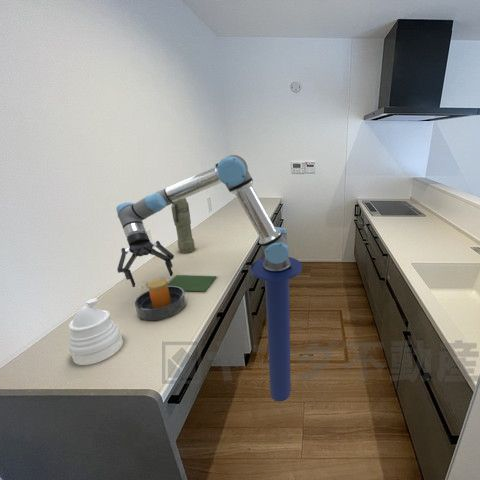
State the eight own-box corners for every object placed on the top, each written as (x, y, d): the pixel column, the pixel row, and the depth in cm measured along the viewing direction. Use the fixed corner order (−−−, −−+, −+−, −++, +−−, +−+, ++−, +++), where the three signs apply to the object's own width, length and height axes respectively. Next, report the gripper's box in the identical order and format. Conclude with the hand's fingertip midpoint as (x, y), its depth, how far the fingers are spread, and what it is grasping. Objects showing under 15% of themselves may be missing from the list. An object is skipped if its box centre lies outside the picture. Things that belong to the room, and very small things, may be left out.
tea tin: (175, 302, 111) (170, 278, 107) (166, 312, 104) (161, 287, 100) (158, 301, 111) (153, 278, 107) (148, 311, 104) (143, 287, 100)
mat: (216, 277, 133) (216, 276, 133) (205, 292, 120) (204, 291, 120) (177, 276, 133) (176, 275, 133) (161, 290, 120) (161, 289, 120)
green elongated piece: (199, 247, 168) (191, 193, 155) (188, 255, 157) (179, 197, 144) (186, 246, 169) (177, 192, 156) (174, 254, 158) (164, 196, 145)
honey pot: (119, 330, 95) (107, 287, 88) (126, 350, 86) (112, 304, 80) (71, 348, 86) (54, 301, 80) (73, 372, 78) (53, 322, 71)
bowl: (193, 297, 116) (191, 286, 114) (172, 322, 100) (170, 310, 98) (154, 296, 116) (151, 285, 114) (127, 321, 100) (124, 309, 98)
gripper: (168, 234, 123) (184, 273, 118) (100, 246, 106) (116, 293, 102) (169, 225, 117) (186, 267, 113) (99, 238, 101) (115, 287, 96)
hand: (153, 280), depth 107 cm, fingers open, 13 cm apart
